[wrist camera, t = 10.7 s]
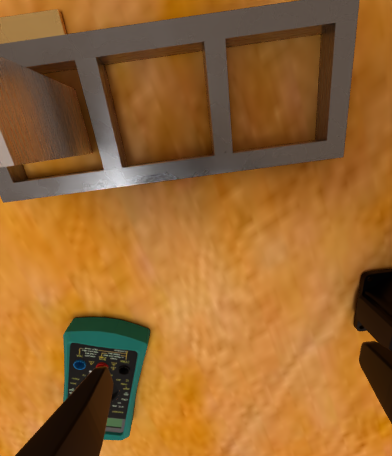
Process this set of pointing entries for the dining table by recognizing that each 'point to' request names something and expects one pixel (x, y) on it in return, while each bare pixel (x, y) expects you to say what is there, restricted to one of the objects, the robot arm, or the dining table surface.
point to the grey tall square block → (38, 118)
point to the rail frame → (214, 76)
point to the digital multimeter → (107, 364)
